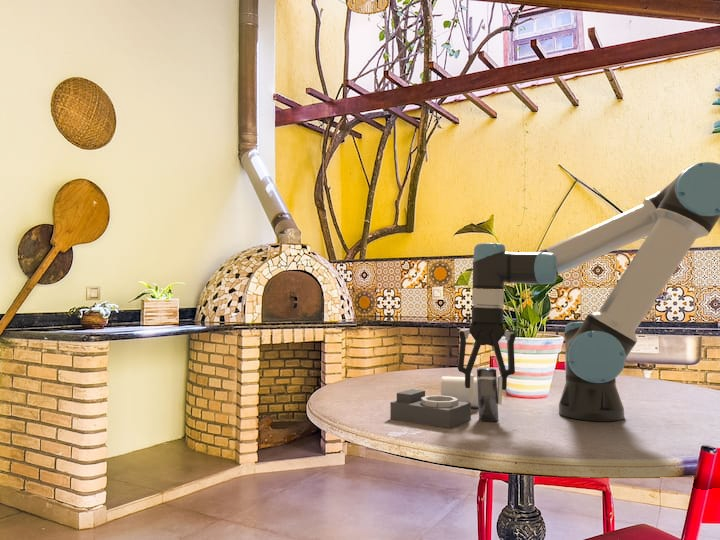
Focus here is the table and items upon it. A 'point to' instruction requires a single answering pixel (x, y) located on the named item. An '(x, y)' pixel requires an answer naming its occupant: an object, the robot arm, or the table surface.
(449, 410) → the camera body
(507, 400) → the table surface
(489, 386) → the dark metallic upright block
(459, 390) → the cream upright block
